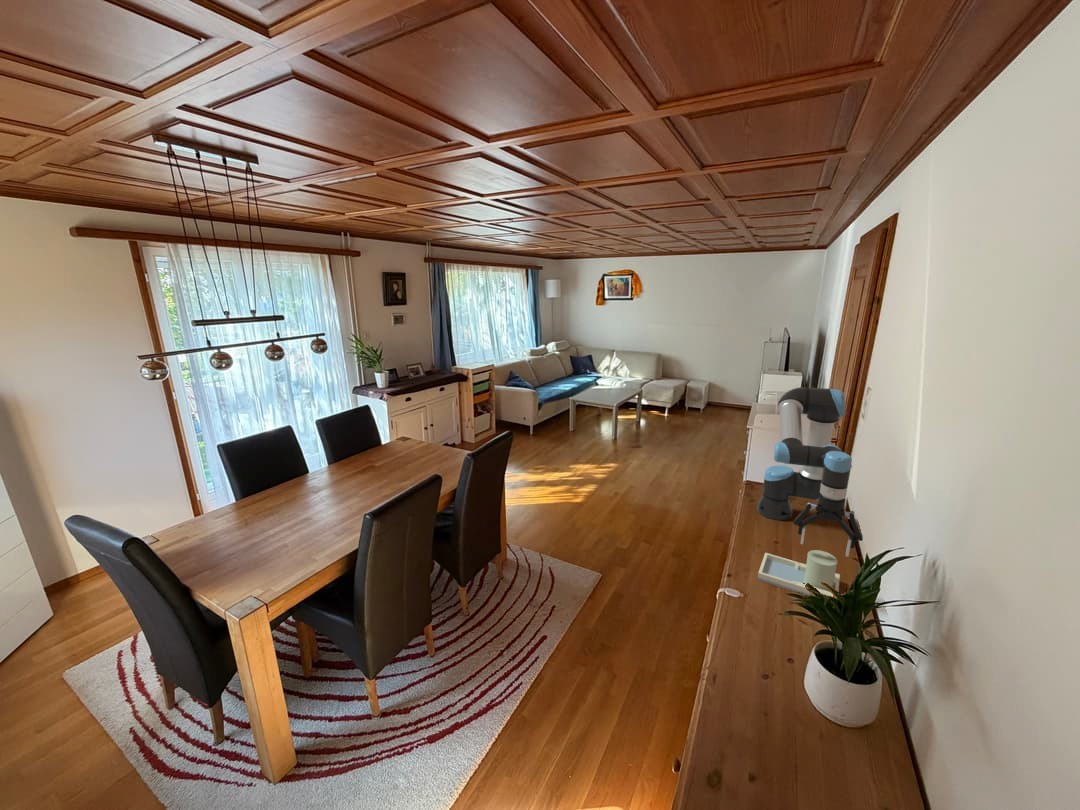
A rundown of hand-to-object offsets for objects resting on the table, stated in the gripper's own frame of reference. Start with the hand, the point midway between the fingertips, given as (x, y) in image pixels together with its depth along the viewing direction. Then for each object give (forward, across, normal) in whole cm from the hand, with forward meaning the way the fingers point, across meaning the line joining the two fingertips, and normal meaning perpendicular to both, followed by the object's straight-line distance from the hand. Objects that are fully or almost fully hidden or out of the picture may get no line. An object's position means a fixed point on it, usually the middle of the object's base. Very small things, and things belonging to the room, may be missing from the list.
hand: (823, 548), depth 151 cm
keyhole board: (+16, -6, -1) cm, 17 cm away
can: (+15, 0, -1) cm, 15 cm away
